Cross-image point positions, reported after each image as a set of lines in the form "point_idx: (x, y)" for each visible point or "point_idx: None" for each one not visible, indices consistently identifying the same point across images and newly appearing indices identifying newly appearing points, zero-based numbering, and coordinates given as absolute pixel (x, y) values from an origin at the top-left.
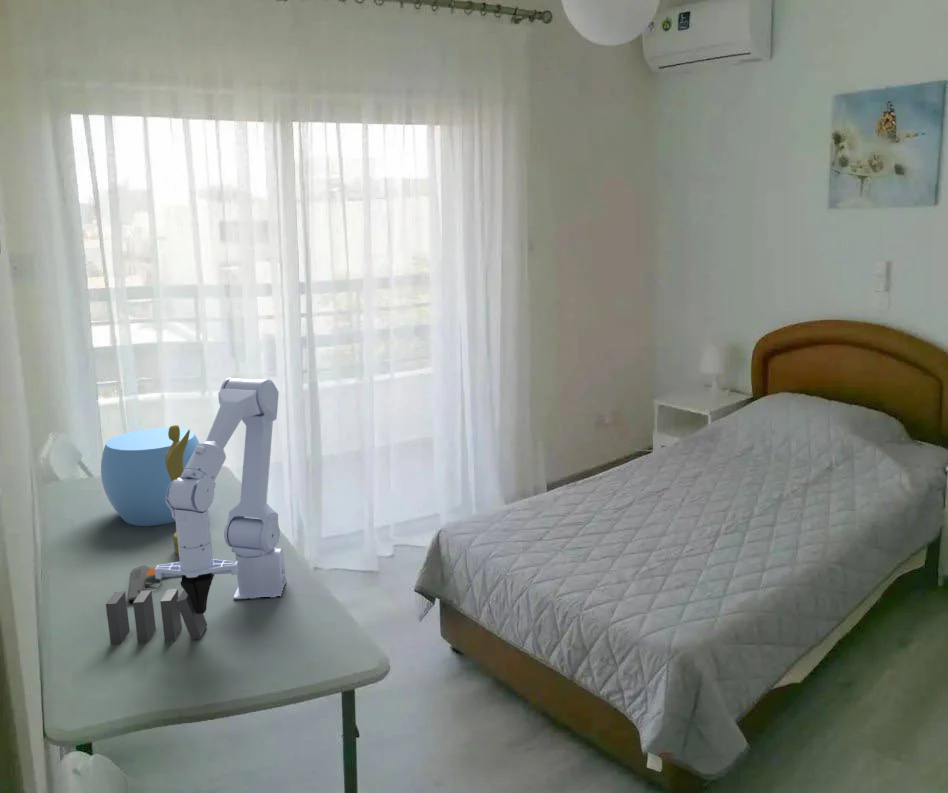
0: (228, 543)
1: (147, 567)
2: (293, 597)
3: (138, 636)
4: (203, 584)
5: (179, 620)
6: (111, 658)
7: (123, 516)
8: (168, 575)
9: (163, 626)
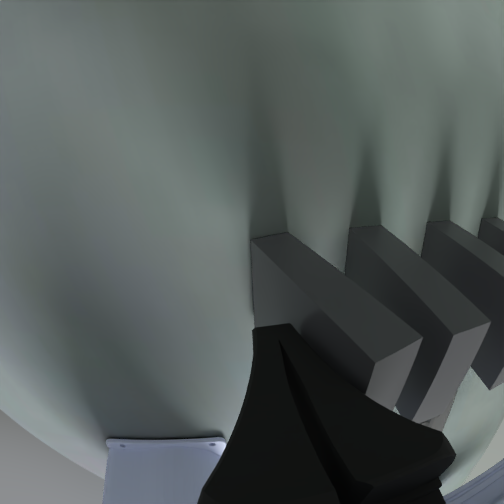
0: None
1: None
2: (78, 433)
3: (461, 229)
4: (248, 498)
5: None
6: (492, 138)
7: None
8: (501, 466)
9: (413, 251)
